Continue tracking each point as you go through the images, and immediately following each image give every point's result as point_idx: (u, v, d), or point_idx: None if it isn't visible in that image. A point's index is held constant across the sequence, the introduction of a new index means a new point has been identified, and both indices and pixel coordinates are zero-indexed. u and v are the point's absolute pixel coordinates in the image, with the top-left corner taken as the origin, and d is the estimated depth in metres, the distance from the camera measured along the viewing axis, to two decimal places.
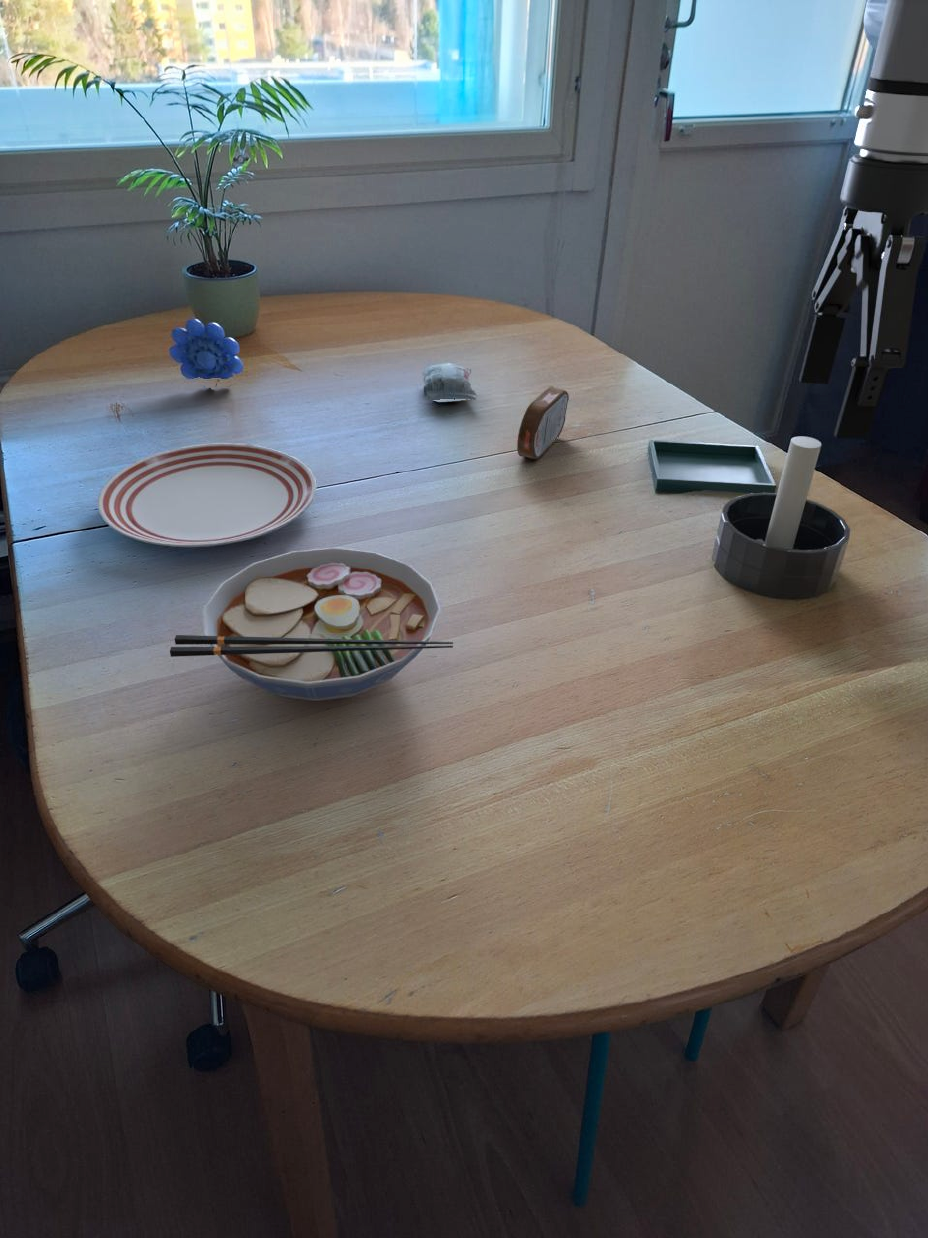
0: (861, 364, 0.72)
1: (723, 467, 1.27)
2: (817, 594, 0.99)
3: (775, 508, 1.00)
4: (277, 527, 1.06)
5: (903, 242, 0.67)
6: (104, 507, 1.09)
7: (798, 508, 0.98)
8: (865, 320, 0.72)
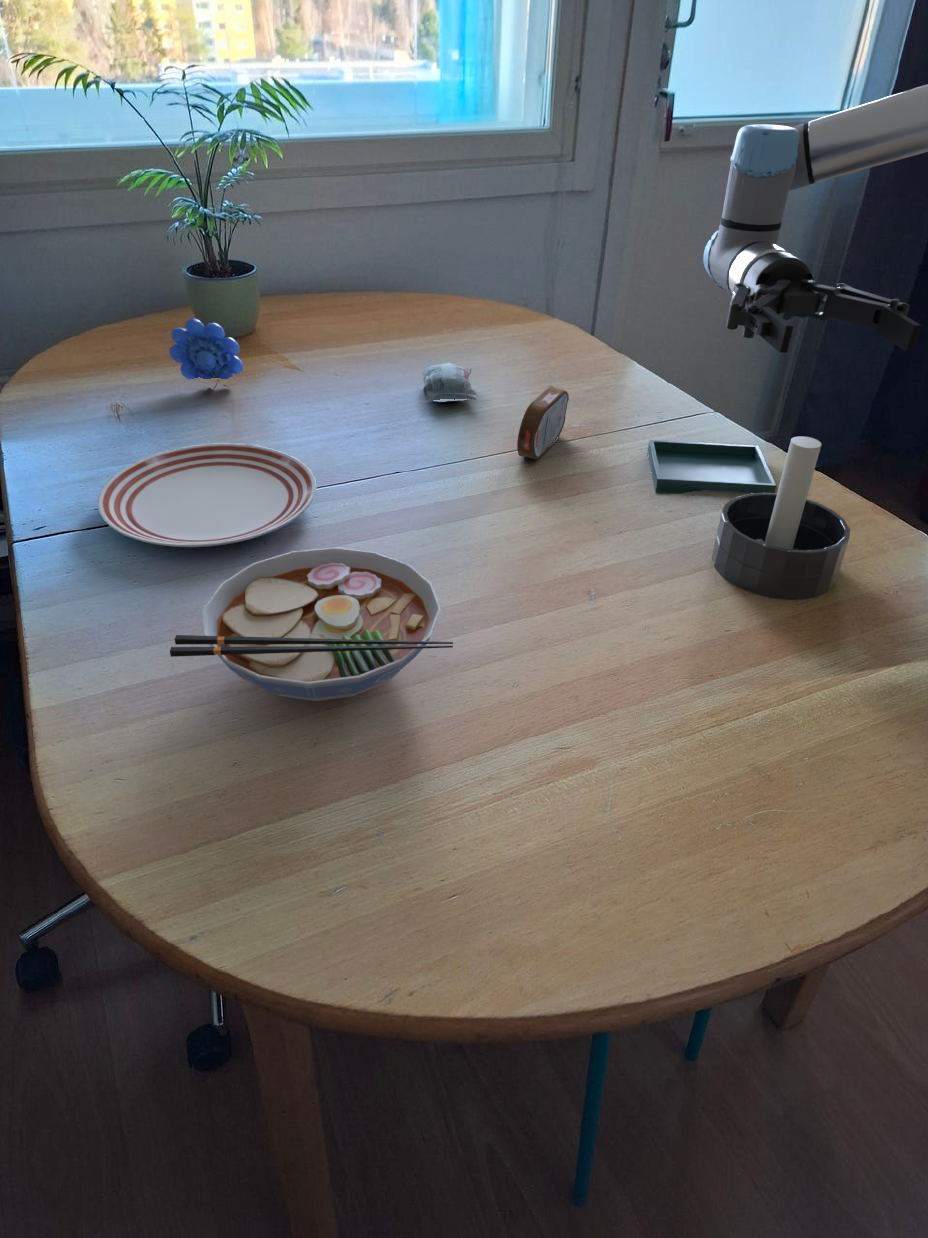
0: (745, 331, 0.95)
1: (723, 467, 1.27)
2: (817, 594, 0.99)
3: (775, 508, 1.00)
4: (277, 527, 1.06)
5: (731, 298, 1.02)
6: (104, 507, 1.09)
7: (798, 508, 0.98)
8: None
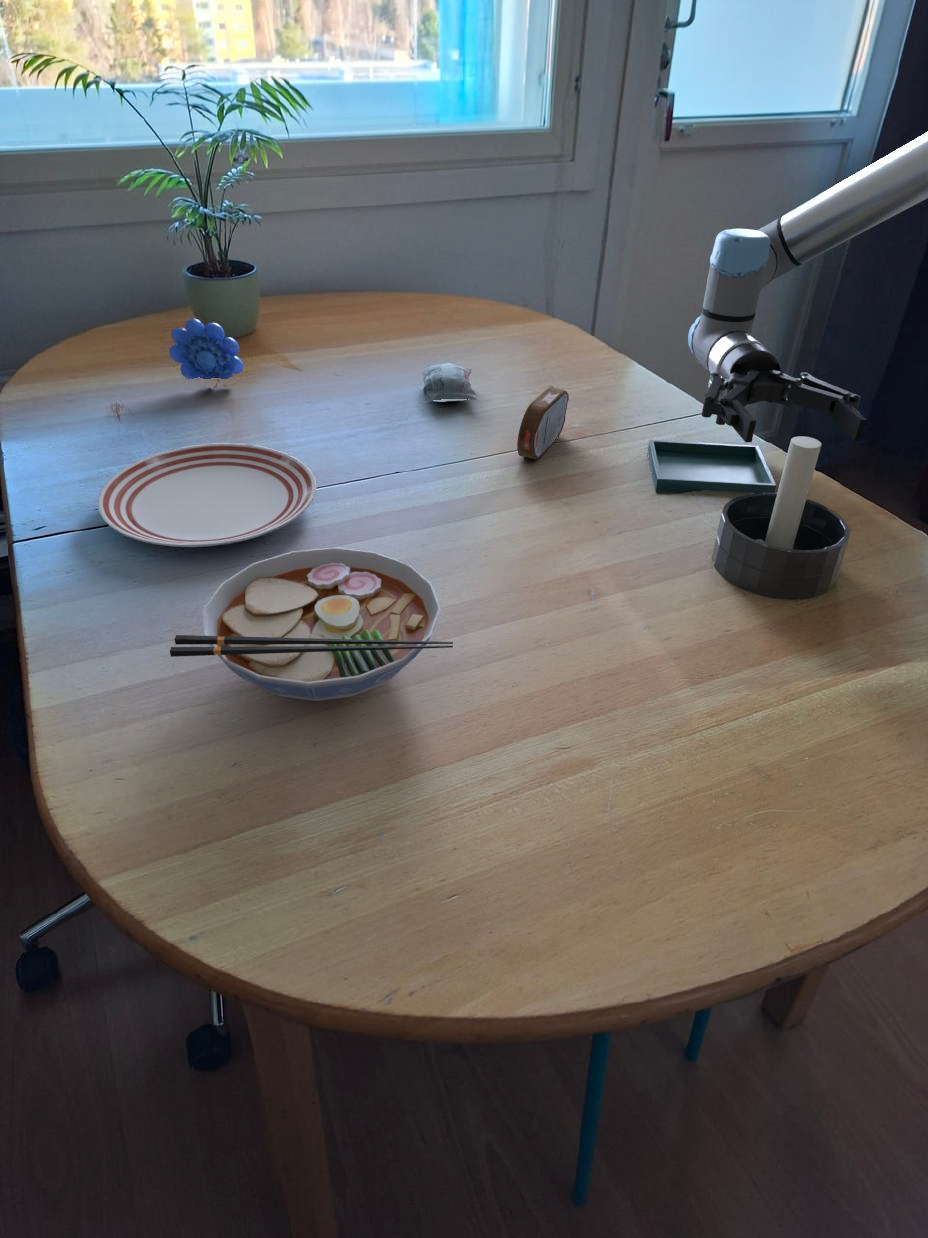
0: (718, 419, 1.10)
1: (723, 467, 1.27)
2: (817, 594, 0.99)
3: (775, 508, 1.00)
4: (277, 527, 1.06)
5: (708, 385, 1.17)
6: (104, 507, 1.09)
7: (798, 508, 0.98)
8: None
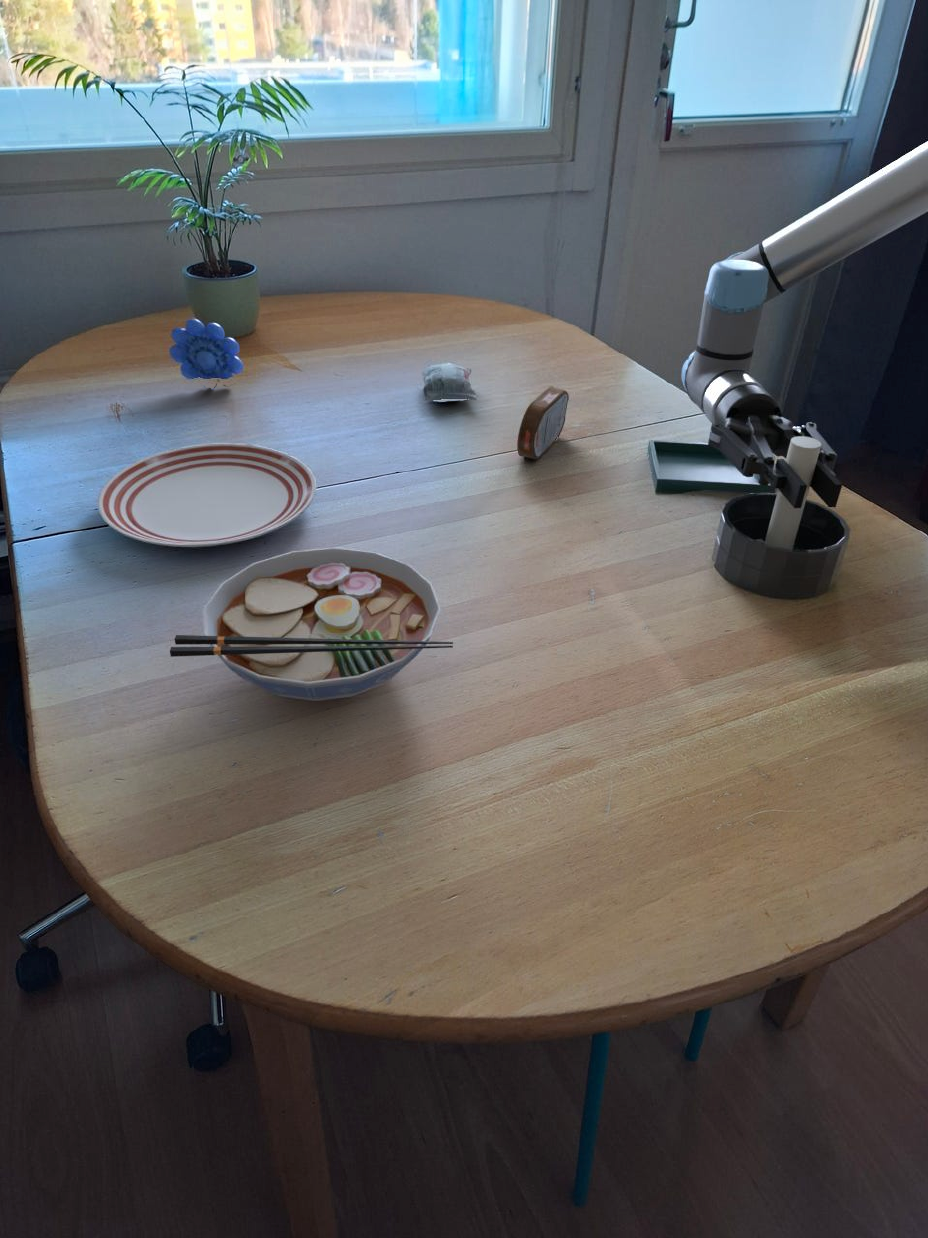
0: (764, 480, 0.99)
1: (723, 467, 1.27)
2: (817, 594, 0.99)
3: (775, 508, 1.00)
4: (277, 527, 1.06)
5: (709, 437, 1.06)
6: (104, 507, 1.09)
7: (798, 508, 0.98)
8: None
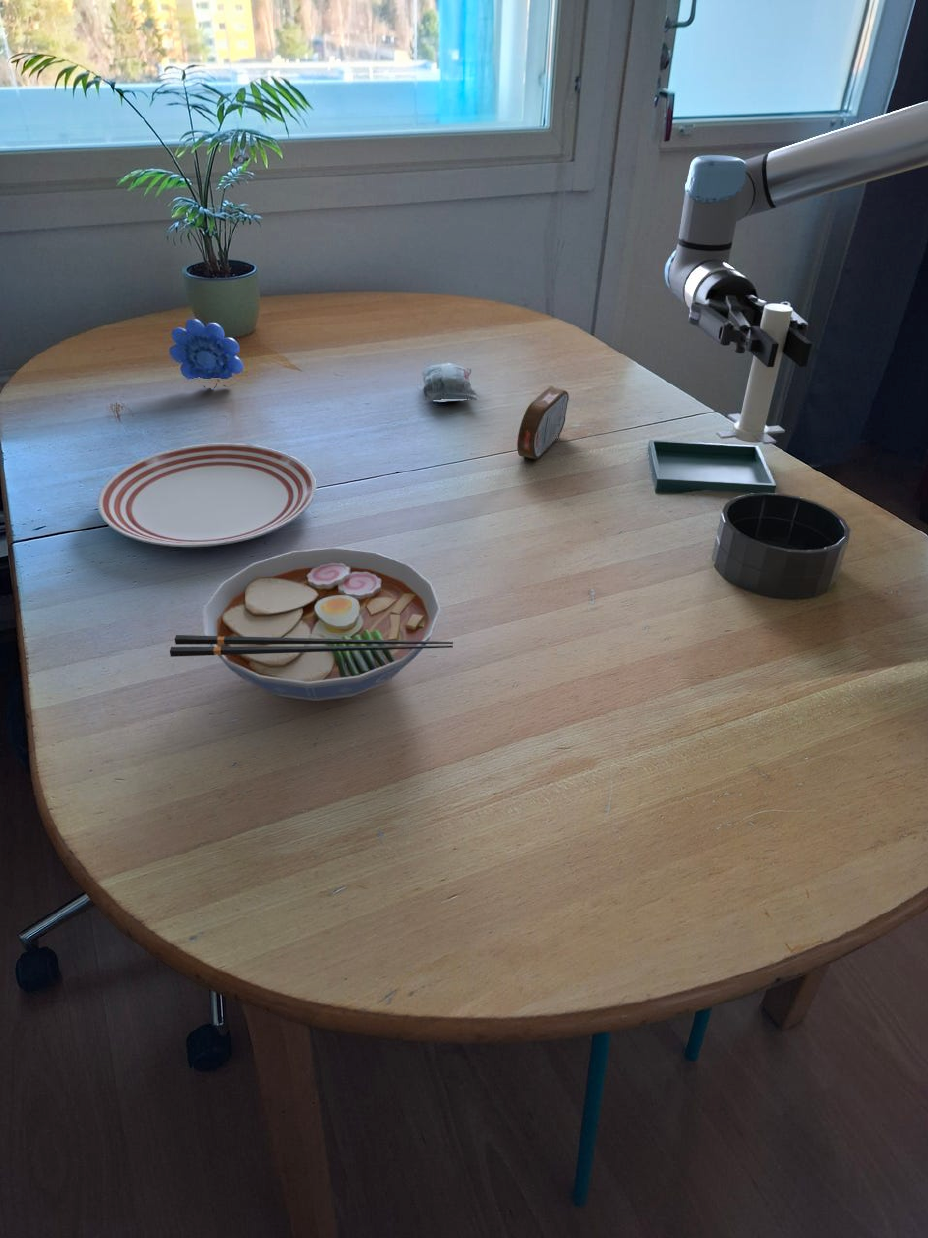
0: (739, 348, 1.06)
1: (723, 467, 1.27)
2: (817, 594, 0.99)
3: (750, 375, 1.06)
4: (277, 527, 1.06)
5: (689, 315, 1.12)
6: (104, 507, 1.09)
7: (772, 373, 1.05)
8: None
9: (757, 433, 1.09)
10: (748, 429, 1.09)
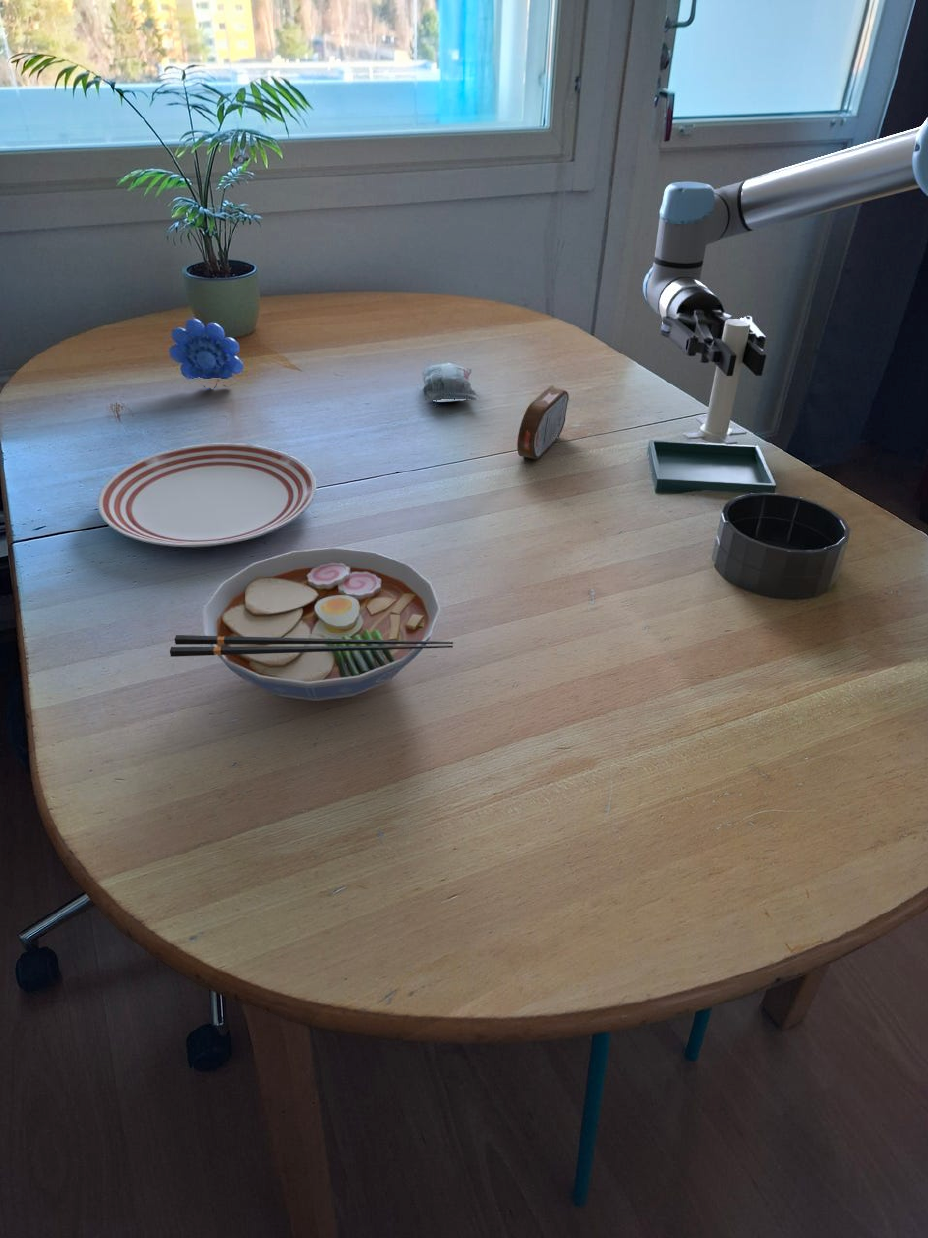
0: (704, 358, 1.18)
1: (723, 467, 1.27)
2: (817, 594, 0.99)
3: (714, 383, 1.18)
4: (277, 527, 1.06)
5: (661, 328, 1.24)
6: (104, 507, 1.09)
7: (733, 381, 1.17)
8: None
9: (720, 434, 1.21)
10: (712, 431, 1.21)
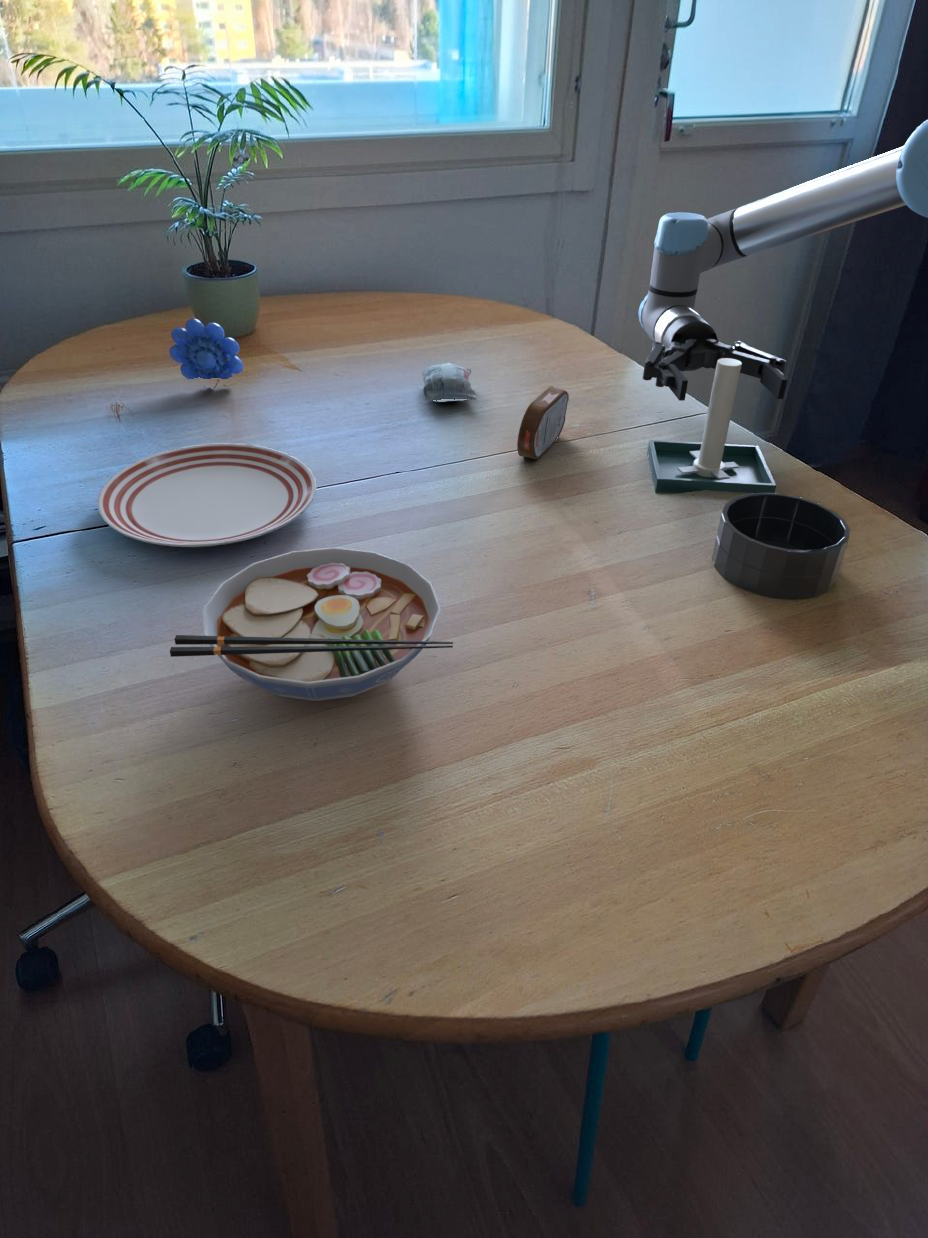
0: (657, 382, 1.22)
1: None
2: (817, 594, 0.99)
3: (707, 419, 1.21)
4: (277, 527, 1.06)
5: None
6: (104, 506, 1.09)
7: (725, 418, 1.20)
8: None
9: (713, 469, 1.24)
10: (706, 466, 1.24)
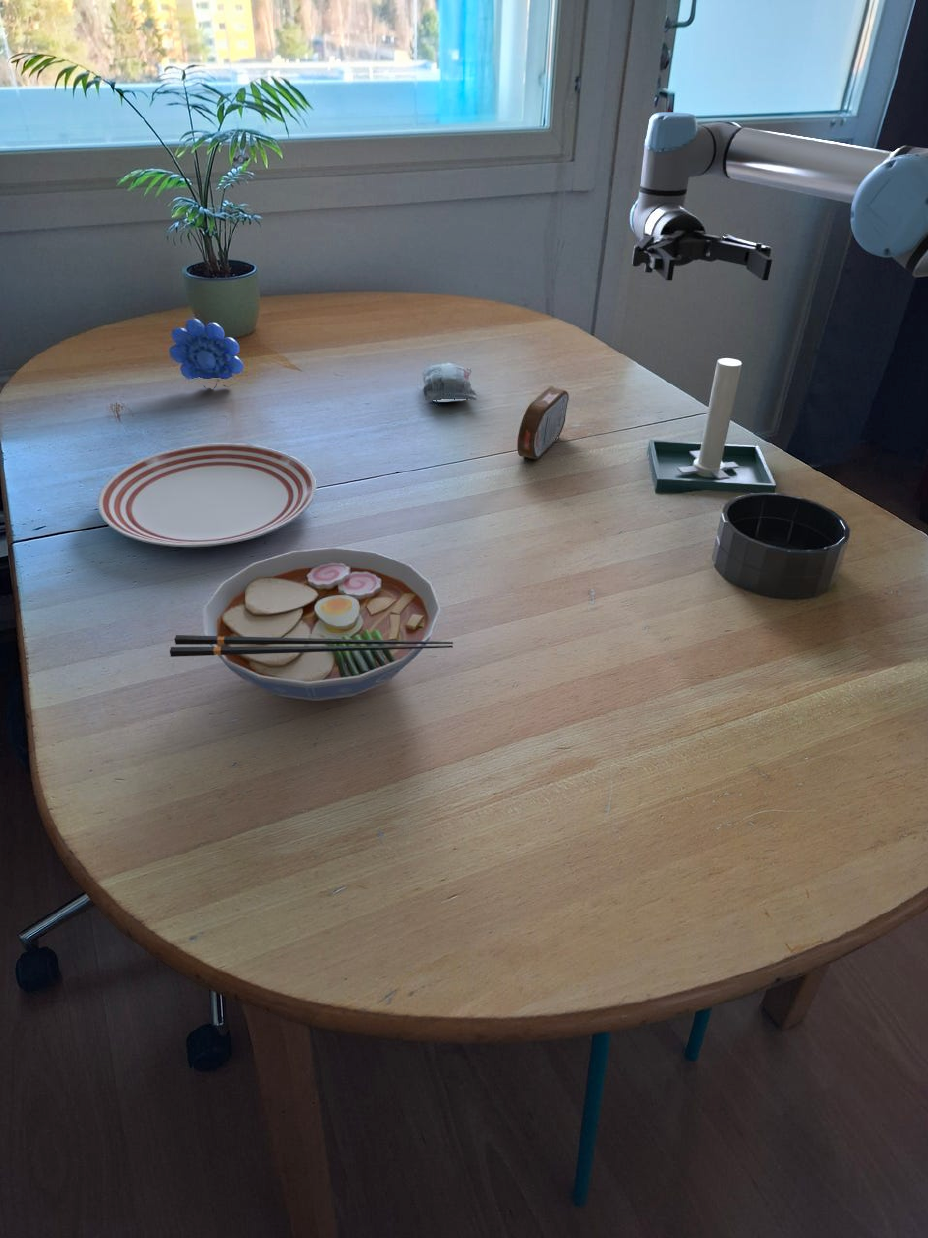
0: (646, 267, 1.25)
1: None
2: (817, 594, 0.99)
3: (707, 419, 1.21)
4: (277, 527, 1.06)
5: None
6: (104, 507, 1.09)
7: (725, 418, 1.20)
8: None
9: (713, 469, 1.24)
10: (706, 466, 1.24)
